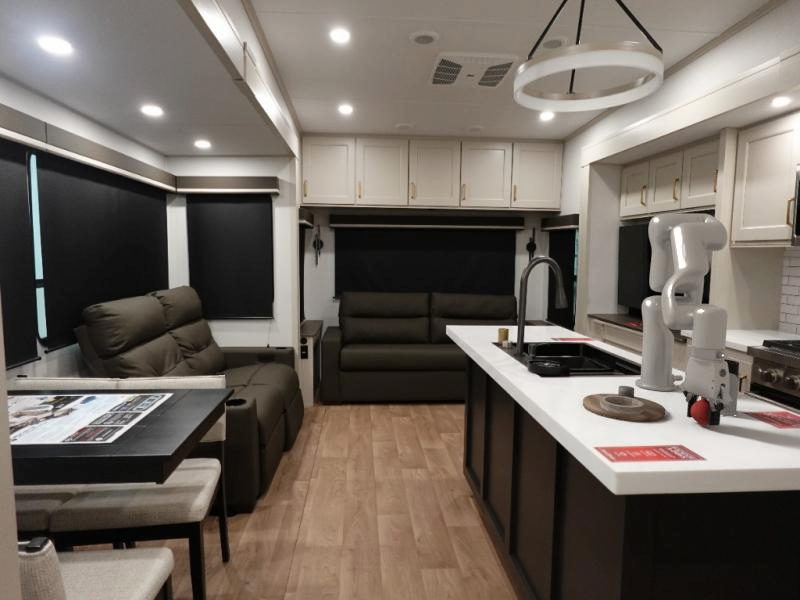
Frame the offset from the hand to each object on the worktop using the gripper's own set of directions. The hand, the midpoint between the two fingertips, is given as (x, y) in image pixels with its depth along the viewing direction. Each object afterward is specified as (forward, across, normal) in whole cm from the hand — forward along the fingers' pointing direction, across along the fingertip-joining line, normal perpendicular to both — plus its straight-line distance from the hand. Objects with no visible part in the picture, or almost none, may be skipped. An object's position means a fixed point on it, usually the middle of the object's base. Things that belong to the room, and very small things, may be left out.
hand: (702, 420), depth 129 cm
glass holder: (+2, +11, -17) cm, 20 cm away
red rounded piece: (+2, 0, 0) cm, 2 cm away
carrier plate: (+2, +17, +11) cm, 20 cm away
